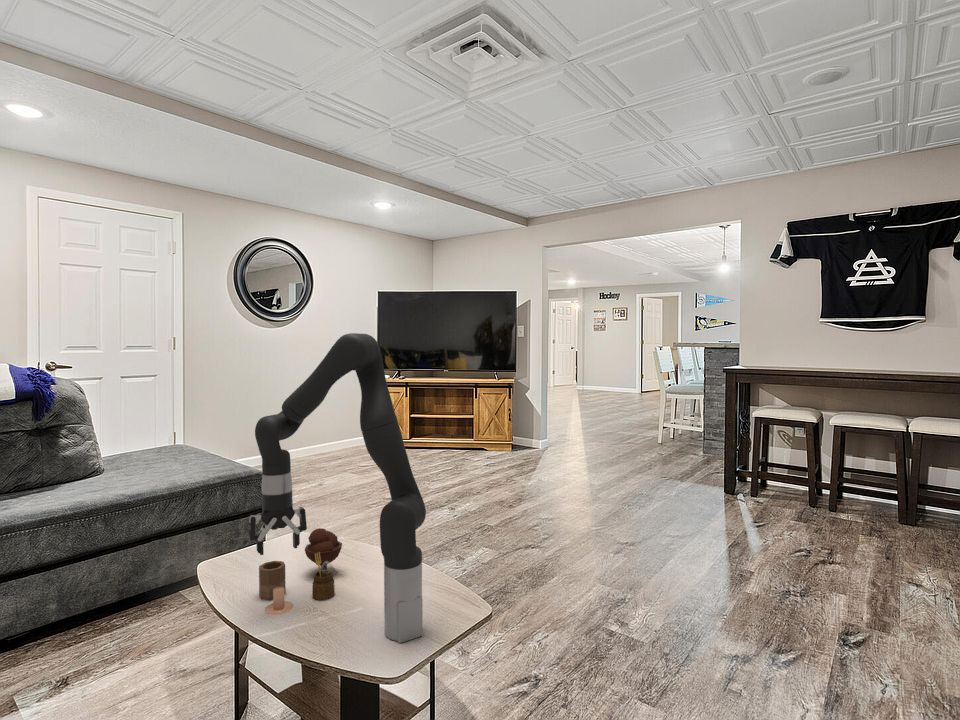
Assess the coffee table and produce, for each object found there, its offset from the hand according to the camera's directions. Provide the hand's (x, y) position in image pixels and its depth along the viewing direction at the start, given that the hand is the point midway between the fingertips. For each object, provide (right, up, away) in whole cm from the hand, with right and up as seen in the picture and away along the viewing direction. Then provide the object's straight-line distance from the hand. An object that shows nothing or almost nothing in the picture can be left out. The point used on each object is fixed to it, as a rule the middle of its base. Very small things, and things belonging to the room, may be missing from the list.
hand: (278, 550), depth 142 cm
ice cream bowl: (+6, -16, +22) cm, 27 cm away
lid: (0, -16, 0) cm, 16 cm away
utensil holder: (+10, -16, +8) cm, 20 cm away
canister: (-5, -16, +8) cm, 19 cm away
